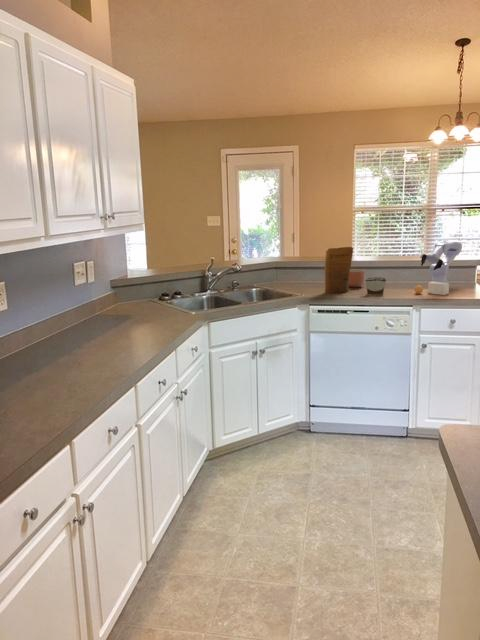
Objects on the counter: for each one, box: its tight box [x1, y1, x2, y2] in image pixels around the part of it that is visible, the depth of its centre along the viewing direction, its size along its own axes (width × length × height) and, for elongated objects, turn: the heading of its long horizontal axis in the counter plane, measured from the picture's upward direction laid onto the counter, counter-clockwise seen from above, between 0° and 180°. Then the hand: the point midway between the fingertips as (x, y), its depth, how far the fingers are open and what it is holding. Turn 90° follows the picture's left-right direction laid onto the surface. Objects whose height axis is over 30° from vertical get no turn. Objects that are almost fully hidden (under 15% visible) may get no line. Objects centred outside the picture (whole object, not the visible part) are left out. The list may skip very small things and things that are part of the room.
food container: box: [364, 276, 387, 296], centre depth 314 cm, size 12×6×10 cm, turn 84°
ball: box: [413, 285, 424, 295], centre depth 313 cm, size 5×5×5 cm
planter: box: [348, 268, 366, 289], centre depth 342 cm, size 12×12×11 cm
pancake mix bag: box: [324, 246, 354, 294], centre depth 320 cm, size 7×19×28 cm, turn 104°
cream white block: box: [427, 281, 450, 296], centre depth 313 cm, size 6×10×6 cm, turn 43°
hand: (428, 266), depth 308 cm, fingers open, 7 cm apart
